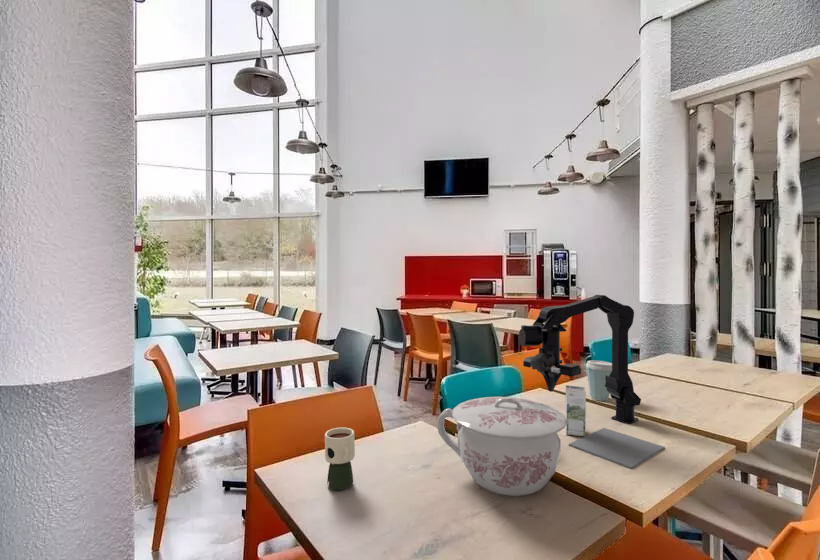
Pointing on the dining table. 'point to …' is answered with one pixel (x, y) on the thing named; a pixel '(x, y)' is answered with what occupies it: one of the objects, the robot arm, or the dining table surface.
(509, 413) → the chamber pot
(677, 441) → the dining table surface
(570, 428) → the syrup box
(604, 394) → the disposable coffee cup
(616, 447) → the mat
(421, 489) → the dining table surface
